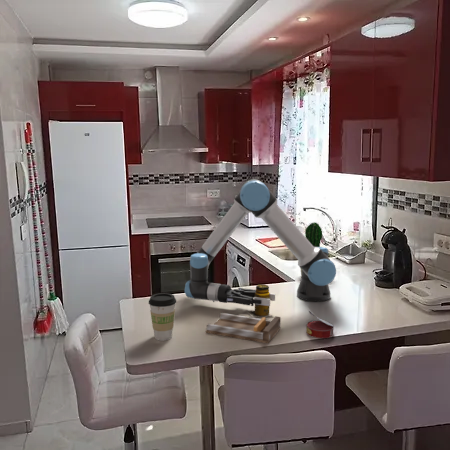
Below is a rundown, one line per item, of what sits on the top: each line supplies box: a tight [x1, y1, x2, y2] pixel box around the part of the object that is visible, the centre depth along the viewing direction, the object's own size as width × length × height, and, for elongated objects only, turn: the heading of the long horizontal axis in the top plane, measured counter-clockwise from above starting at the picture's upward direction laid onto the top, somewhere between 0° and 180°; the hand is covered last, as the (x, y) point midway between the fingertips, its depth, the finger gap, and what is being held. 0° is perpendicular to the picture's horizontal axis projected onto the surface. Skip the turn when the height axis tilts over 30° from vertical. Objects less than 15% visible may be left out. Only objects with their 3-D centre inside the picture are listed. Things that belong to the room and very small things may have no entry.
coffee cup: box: [148, 292, 177, 341], centre depth 160 cm, size 10×10×15 cm
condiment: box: [247, 284, 273, 318], centre depth 183 cm, size 7×8×12 cm
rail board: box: [205, 312, 282, 344], centre depth 167 cm, size 24×15×4 cm, turn 67°
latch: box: [254, 317, 267, 332], centre depth 164 cm, size 1×10×3 cm, turn 157°
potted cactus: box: [299, 221, 324, 272], centre depth 235 cm, size 15×15×30 cm
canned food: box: [305, 310, 335, 339], centre depth 165 cm, size 11×10×10 cm
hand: (272, 299), depth 181 cm, fingers closed on condiment, 6 cm apart
